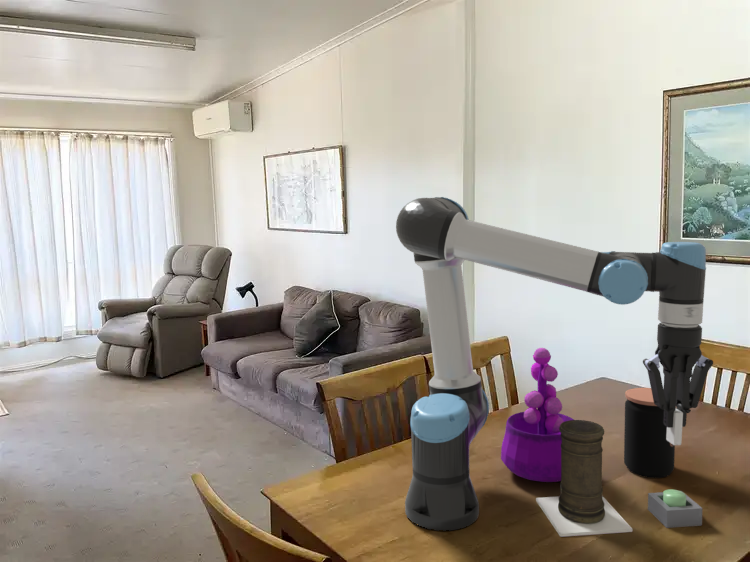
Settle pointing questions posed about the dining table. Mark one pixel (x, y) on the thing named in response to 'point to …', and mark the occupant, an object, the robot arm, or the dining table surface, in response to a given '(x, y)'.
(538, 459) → the decorative plant
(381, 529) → the dining table surface
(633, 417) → the coffee jar
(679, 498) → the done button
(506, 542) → the dining table surface
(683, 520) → the button housing
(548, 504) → the paper sheet
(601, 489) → the container
